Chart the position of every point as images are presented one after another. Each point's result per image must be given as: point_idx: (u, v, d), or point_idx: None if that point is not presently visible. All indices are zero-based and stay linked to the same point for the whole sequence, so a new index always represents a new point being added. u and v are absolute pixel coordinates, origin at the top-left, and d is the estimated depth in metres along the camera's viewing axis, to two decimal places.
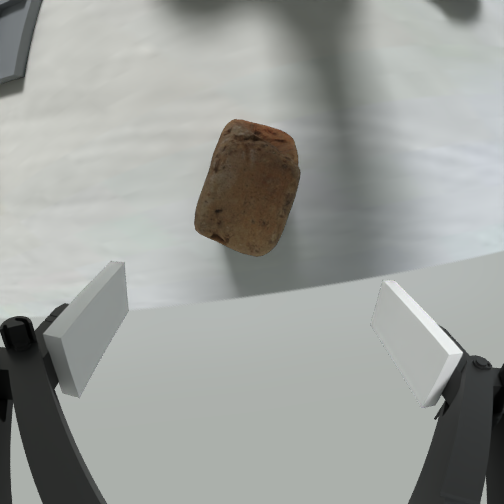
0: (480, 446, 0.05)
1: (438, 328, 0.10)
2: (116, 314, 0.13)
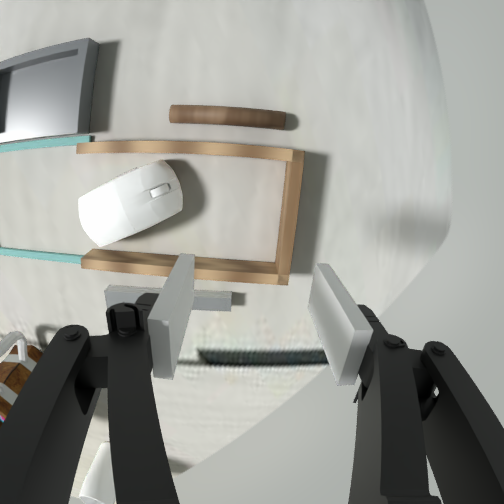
0: (412, 431, 0.06)
1: (354, 306, 0.12)
2: (189, 302, 0.15)
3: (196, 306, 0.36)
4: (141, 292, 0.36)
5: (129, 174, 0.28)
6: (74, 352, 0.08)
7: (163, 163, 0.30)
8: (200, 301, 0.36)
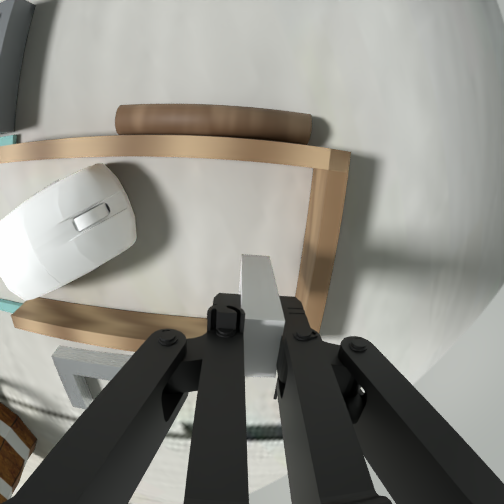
0: (342, 430, 0.06)
1: (275, 297, 0.12)
2: None
3: None
4: (98, 362, 0.23)
5: (42, 193, 0.15)
6: (168, 358, 0.08)
7: (97, 170, 0.17)
8: None
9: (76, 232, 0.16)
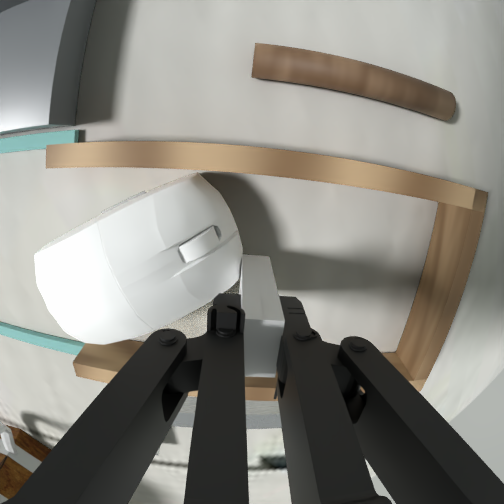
0: (341, 430, 0.06)
1: (275, 297, 0.12)
2: None
3: (274, 424, 0.21)
4: (182, 410, 0.21)
5: (129, 209, 0.13)
6: (168, 358, 0.08)
7: (202, 182, 0.15)
8: None
9: (183, 264, 0.13)
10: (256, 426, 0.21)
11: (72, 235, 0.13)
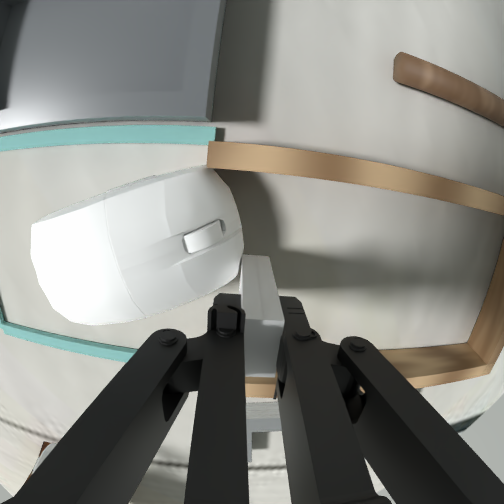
0: (341, 430, 0.06)
1: (275, 297, 0.12)
2: None
3: None
4: None
5: (138, 192, 0.12)
6: (169, 359, 0.08)
7: (214, 174, 0.14)
8: None
9: (185, 254, 0.13)
10: None
11: (76, 210, 0.12)
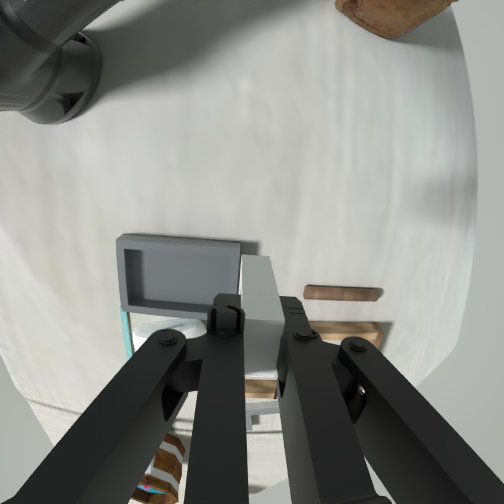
0: (342, 430, 0.06)
1: (275, 297, 0.12)
2: None
3: None
4: (266, 407, 0.54)
5: None
6: (168, 358, 0.08)
7: (199, 326, 0.46)
8: None
9: None
10: None
11: None
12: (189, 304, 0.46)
